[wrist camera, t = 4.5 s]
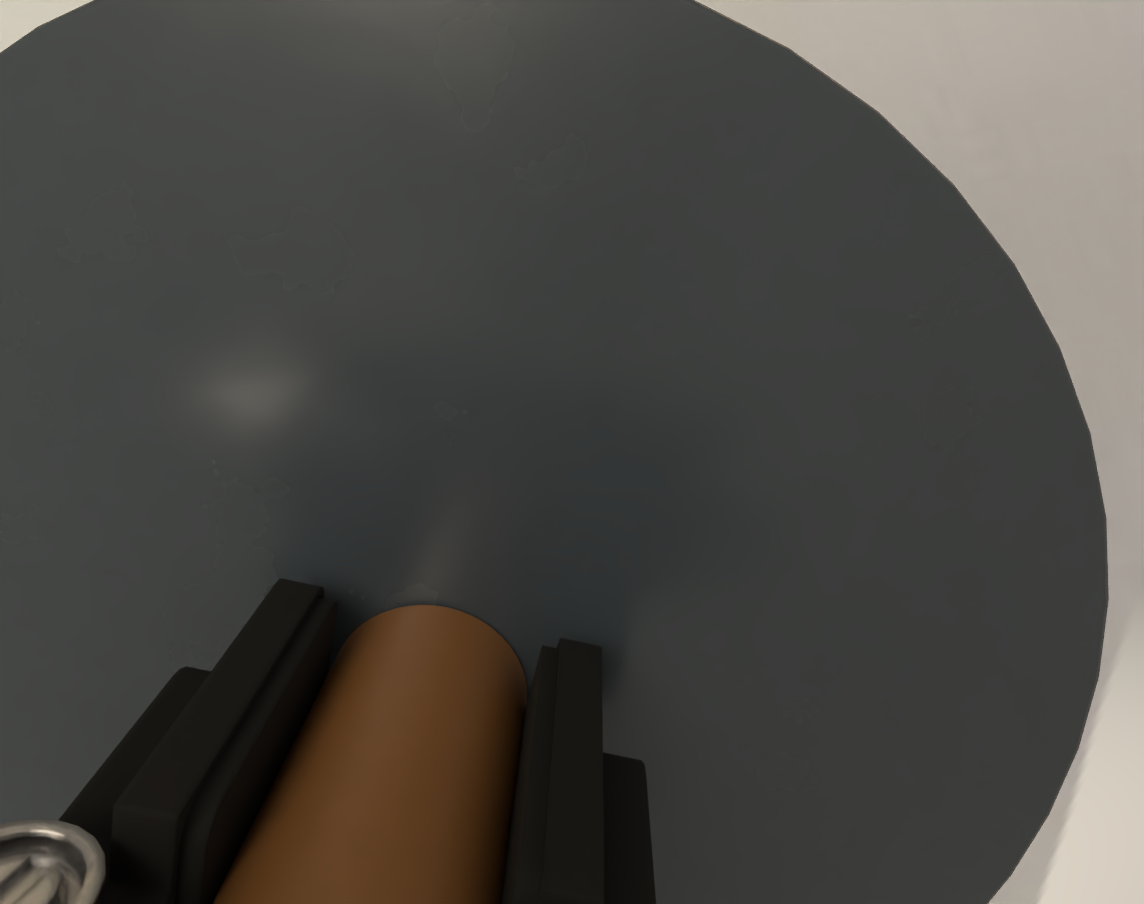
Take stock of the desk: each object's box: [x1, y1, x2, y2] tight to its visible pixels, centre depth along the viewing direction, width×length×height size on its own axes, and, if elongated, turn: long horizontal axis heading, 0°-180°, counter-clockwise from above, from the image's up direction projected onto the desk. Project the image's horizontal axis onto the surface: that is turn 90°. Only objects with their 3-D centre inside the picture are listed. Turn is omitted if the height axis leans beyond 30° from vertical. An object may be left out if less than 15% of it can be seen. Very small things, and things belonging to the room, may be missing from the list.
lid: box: [0, 0, 1108, 904], centre depth 10 cm, size 18×18×6 cm
